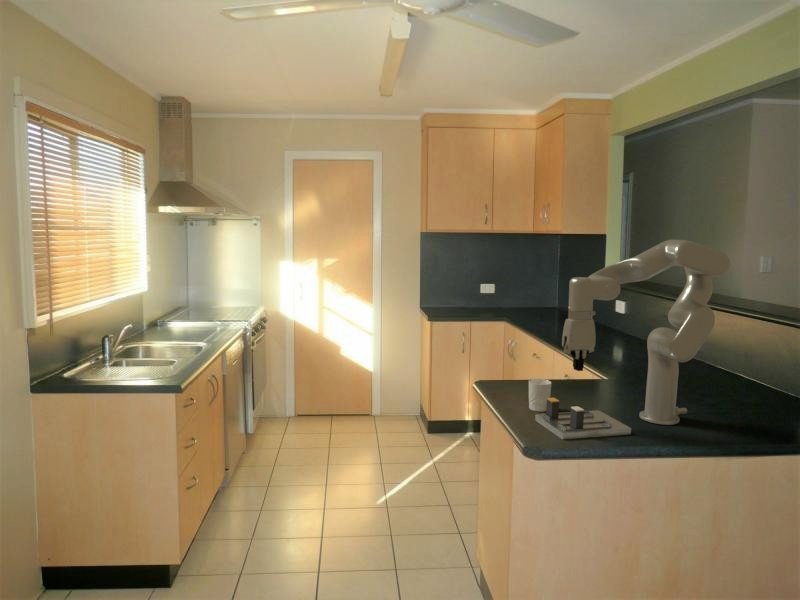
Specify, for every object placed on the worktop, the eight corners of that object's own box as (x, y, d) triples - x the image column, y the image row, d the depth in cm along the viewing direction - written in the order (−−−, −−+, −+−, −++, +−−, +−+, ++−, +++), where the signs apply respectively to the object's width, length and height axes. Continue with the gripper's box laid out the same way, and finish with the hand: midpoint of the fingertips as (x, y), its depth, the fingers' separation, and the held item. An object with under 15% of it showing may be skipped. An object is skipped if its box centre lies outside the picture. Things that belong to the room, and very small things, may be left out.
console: (598, 415, 203) (598, 407, 203) (630, 434, 186) (631, 425, 185) (535, 420, 197) (535, 411, 197) (562, 439, 180) (563, 430, 179)
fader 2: (576, 424, 187) (578, 406, 186) (583, 428, 184) (584, 409, 183) (569, 425, 187) (571, 406, 186) (575, 428, 183) (577, 410, 182)
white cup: (546, 405, 213) (547, 378, 212) (552, 412, 206) (554, 384, 204) (524, 405, 213) (526, 378, 212) (530, 412, 205) (531, 384, 204)
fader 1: (552, 415, 196) (553, 397, 195) (558, 418, 193) (559, 400, 192) (546, 415, 195) (547, 398, 195) (551, 418, 192) (552, 401, 191)
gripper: (594, 312, 197) (591, 365, 199) (553, 314, 193) (552, 368, 196) (607, 316, 190) (604, 371, 192) (565, 318, 186) (563, 374, 189)
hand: (578, 369), depth 194 cm, fingers closed
